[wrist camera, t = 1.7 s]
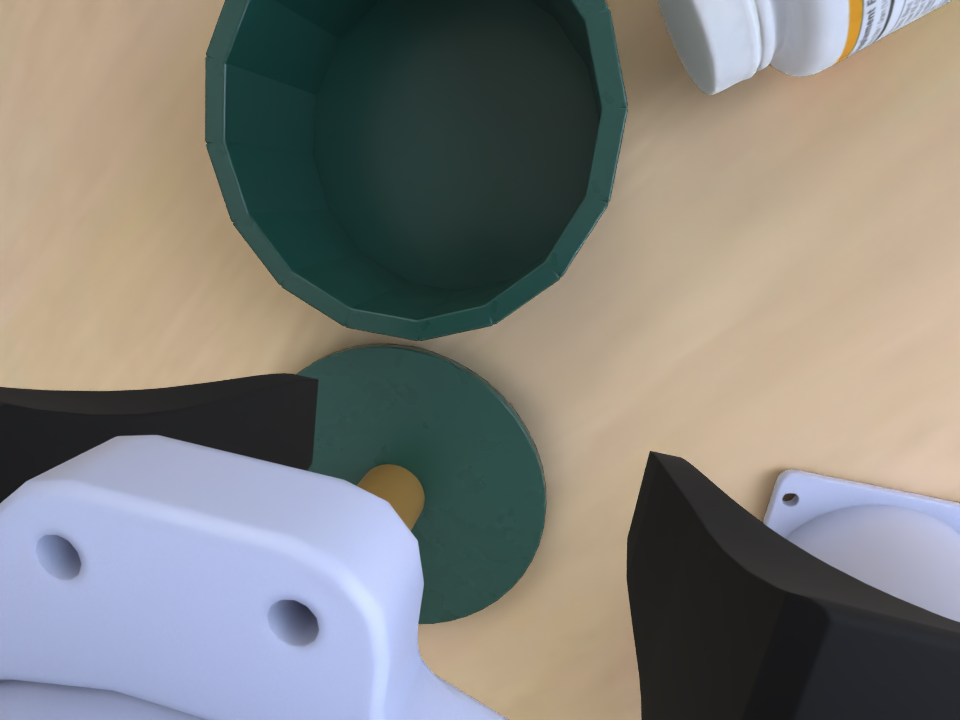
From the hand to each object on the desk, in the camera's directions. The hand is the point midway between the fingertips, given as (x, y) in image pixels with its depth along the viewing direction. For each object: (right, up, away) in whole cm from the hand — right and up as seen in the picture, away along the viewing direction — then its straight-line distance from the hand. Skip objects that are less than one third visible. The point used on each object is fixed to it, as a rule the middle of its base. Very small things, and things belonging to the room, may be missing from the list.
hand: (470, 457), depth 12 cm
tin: (-1, +9, +8) cm, 12 cm away
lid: (-3, -3, +11) cm, 12 cm away
